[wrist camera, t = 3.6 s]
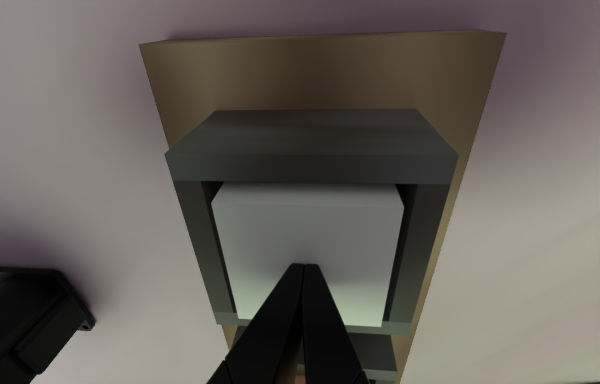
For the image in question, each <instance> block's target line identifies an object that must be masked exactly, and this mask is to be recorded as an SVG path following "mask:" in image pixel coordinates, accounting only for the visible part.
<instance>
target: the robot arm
mask: <svg viewBox="0 0 600 384" xmlns="http://www.w3.org/2000/svg"><path fill="white" fill-rule="evenodd" d="M94 326H95V323H94V321H93V320H92V318H91V317H90V315H89V314H88V312H87V311H86V310H85V308H84V307H83V305H82V304H81V302H80V301H79V299H78V298H77V296H76V295H75V293H74V292H73V290H72V289H71V287H70V286H69V285H68V283H67V282H66V280H65V279H64V277H63V276H62V275H61V273H59V272H57V271H55V270H40V269H19V268H0V384H30V382H31V381H32V380H33V379H34V378H35V376H36V375H40V374H42V373H43V372H44V371H45V370H46V368H47V367H48V366H49V365H50V363H51V362H52V361H53V360H54V358H55V357H56V356H57V355H58V353H59V352H60V351H61V350H62V348H63V347H64V346H65V345H66V343H67V342H68V341H69V340H70V338H71V337H72V336H73V335H74V333H75V332H76V331H77V330H81V331H91V330H92V329H93V327H94ZM302 335H303V354H304V371H305V384H370V382H369V380H368V377H367V375H366V373H365V371H364V370H363V366H362V364H361V362H360V359H359V357H358V355H357V352H356V350H355V348H354V345H353V343H352V341H351V338H350V336H349V334H348V331H347V329H346V327H345V324H344V322H343V320H342V317H341V315H340V313H339V310H338V308H337V306H336V303H335V301H334V299H333V296H332V294H331V292H330V289H329V287H328V285H327V282H326V280H325V278H324V275H323V273H322V271H321V269H320V266H319V265H318V264H309V263H307V264H305V265H304V264H303V263H291V264H290V265H289V267H288V268H287V270H286V271H285V273H284V274H283V275H282V277H281V278H280V280H279V281H278V283H277V284H276V285H275V287H274V288H273V290H272V291H271V293H270V294H269V295H268V297H267V298H266V300H265V301H264V303H263V304H262V305H261V307H260V308H259V310H258V311H257V313H256V314H255V315H254V317H253V318H252V320H251V321H250V323H249V324H248V325H247V327H246V328H245V330H244V331H243V333H242V334H241V335H240V337H239V338H238V340H237V341H236V343H235V344H234V345H233V347H232V348H231V350H230V351H229V353H228V354H227V355H226V357H225V360H223V361H222V362H221V364H220V365H219V367H218V368H217V370H216V371H215V372H214V374H213V375H212V377H211V378H210V379H209V381H208V382H207V383H206V384H294V383H295V378H296V372H297V366H298V361H299V355H300V349H301V343H302Z"/></svg>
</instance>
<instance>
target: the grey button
mask: <svg viewBox="0 0 600 384" xmlns="http://www.w3.org/2000/svg"><path fill="white" fill-rule="evenodd" d="M211 205H212V209H213V214H214V218H215V222H216V226H217V230H218V234H219V239H220V243H221V247H222V251H223V255H224V260H225V264H226V268H227V272H228V276H229V280H230V285H231V289H232V293H233V297H234V301H235V306H236V310H237V314H238V318H239V319H252V318H253V317H254V315H255V314H256V313H257V311H258V310H259V308H260V307H261V305H262V304H263V303H264V301H265V300H266V298H267V297H268V295H269V294H270V293H271V291H272V290H273V288H274V287H275V285H276V284H277V283H278V281H279V280H280V278H281V277H282V275H283V274H284V273H285V271H286V270H287V268H288V267H289V265H290V264H291V263H303V264H304V265H305V264H307V263H309V264H318V265H319V266H320V269H321V271H322V273H323V275H324V278H325V280H326V282H327V285H328V287H329V289H330V292H331V294H332V296H333V299H334V301H335V303H336V306H337V308H338V310H339V313H340V315H341V317H342V320H343V322H344V324H345V325H355V326H372V327H381V324H382V319H383V314H384V308H385V303H386V298H387V293H388V288H389V283H390V278H391V272H392V267H393V262H394V257H395V252H396V247H397V242H398V236H399V231H400V226H401V221H402V216H403V211H404V206H403V203H402V201H401V198H400V196H399V193H398V190H397V188H396V185H395V184H388V183H317V182H247V181H225V182H224V183H223V185H222V186H221V188H220V190H219V191H218V193H217V195H216V196H215V198H214V199H213V201H212V203H211Z"/></svg>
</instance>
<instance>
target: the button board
mask: <svg viewBox="0 0 600 384" xmlns="http://www.w3.org/2000/svg"><path fill="white" fill-rule="evenodd" d="M506 34H507V33H503V32H493V31H484V30H458V31H427V32H397V33H366V34H335V35H305V36H274V37H243V38H213V39H182V40H163V41H157V42H151V43H145V44H139V47H140V51H141V54H142V58H143V61H144V64H145V68H146V71H147V75H148V78H149V81H150V85H151V88H152V91H153V95H154V98H155V102H156V105H157V108H158V112H159V115H160V118H161V122H162V125H163V129H164V132H165V135H166V139H167V142H168V145H169V149H170V150H168V151H167V152H166V153H165V158H166V161H167V164H168V167H169V170H170V174H171V177H172V180H173V183H174V187H175V190H176V193H177V196H178V200H179V203H180V206H181V209H182V213H183V216H184V219H185V222H186V225H187V229H188V232H189V235H190V238H191V242H192V245H193V248H194V251H195V255H196V258H197V261H198V264H199V267H200V271H201V274H202V277H203V280H204V284H205V287H206V290H207V293H208V297H209V300H210V303H211V306H212V310H213V313H214V316H215V319H216V322H217V324H221V325H222V328H223V331H224V335H225V338H226V342H227V345H228V348H229V351H230V350H231V348H232V347H233V345H234V344H235V343H236V341H237V340H238V338H239V337H240V335H241V334H242V333H243V331H244V330H245V328H246V327H247V325H248V324H249V323H250V321H251V320H252V319H239V318H238V314H237V310H236V306H235V301H234V297H233V293H232V289H231V285H230V280H229V276H228V272H227V268H226V264H225V260H224V255H223V251H222V247H221V243H220V239H219V234H218V230H217V226H216V222H215V218H214V214H213V209H212V205H211V203H212V201H213V199H214V198H215V196H216V195H217V193H218V191H219V190H220V188H221V186H222V185H223V183H224V182H225V181H247V182H317V183H388V184H395V185H396V188H397V190H398V193H399V196H400V198H401V201H402V203H403V206H404V211H403V216H402V221H401V226H400V231H399V236H398V242H397V247H396V252H395V257H394V262H393V267H392V272H391V278H390V283H389V288H388V293H387V298H386V303H385V308H384V314H383V319H382V324H381V327H372V326H355V325H345V327H346V329H347V331H348V334H349V336H350V338H351V341H352V343H353V345H354V348H355V350H356V352H357V355H358V357H359V359H360V362H361V364H362V366H363V370H364V371H365V373H366V375H367V377H368V380H369V382H370V384H400V381H401V377H402V374H403V371H404V368H405V364H406V361H407V358H408V355H409V351H410V348H411V345H412V341H413V338H414V335H415V332H416V328H417V325H418V322H419V318H420V315H421V312H422V309H423V305H424V302H425V299H426V296H427V292H428V289H429V286H430V282H431V279H432V276H433V273H434V269H435V266H436V263H437V260H438V256H439V253H440V250H441V246H442V243H443V240H444V237H445V233H446V230H447V227H448V224H449V220H450V217H451V214H452V210H453V207H454V204H455V201H456V197H457V194H458V191H459V188H460V184H461V181H462V178H463V174H464V171H465V168H466V165H467V161H468V158H469V155H470V152H471V148H472V145H473V142H474V138H475V135H476V132H477V129H478V125H479V122H480V119H481V116H482V112H483V109H484V106H485V102H486V99H487V96H488V93H489V89H490V86H491V83H492V79H493V76H494V73H495V70H496V66H497V63H498V60H499V57H500V53H501V50H502V47H503V43H504V40H505V37H506ZM296 374H305V371H304V354H303V335H302V343H301V349H300V355H299V361H298V366H297V372H296Z"/></svg>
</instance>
